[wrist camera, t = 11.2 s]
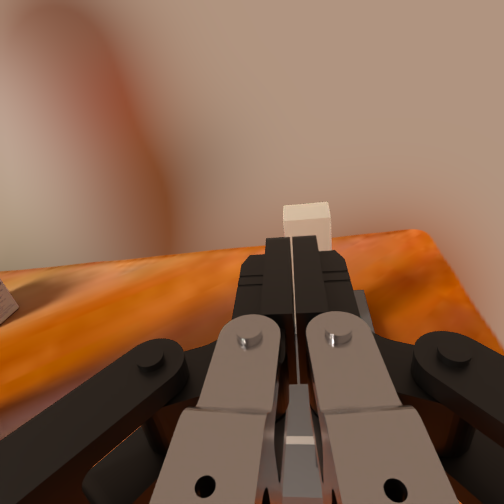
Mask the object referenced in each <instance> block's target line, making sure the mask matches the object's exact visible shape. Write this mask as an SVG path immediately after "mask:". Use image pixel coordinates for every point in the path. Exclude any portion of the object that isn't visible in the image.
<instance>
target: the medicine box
mask: <svg viewBox="0 0 504 504" xmlns="http://www.w3.org/2000/svg"><path fill="white" fill-rule="evenodd" d="M18 308H19V306H18V304H17V303H16V301H15V300H14V298H13V297H12V295H11V294H10V293H9V291H8V290H7V288H6V286H5V285H4V284H3V282H2V281H1V279H0V324H1V323H2V322H4V321H5V320H6V319H7V318H8V317H9V316H10V315H11V314H13V313H14V312H15V311H16V310H17V309H18Z"/></svg>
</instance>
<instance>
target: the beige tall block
mask: <svg viewBox="0 0 504 504" xmlns="http://www.w3.org/2000/svg"><path fill="white" fill-rule="evenodd" d="M283 226H284V235H285V237H290V244H291V259H292V275H293V291H294V314H295V334H297V327H296V311H295V289H294V268H293V246H292V237H294V236H310V235H316V238H317V244H318V250H319V251H331V250H332V243H331V216H330V211H329V206H328V202H319V203H308V204H297V205H285V206H284V209H283Z"/></svg>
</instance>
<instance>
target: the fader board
mask: <svg viewBox="0 0 504 504" xmlns="http://www.w3.org/2000/svg"><path fill="white" fill-rule="evenodd" d="M353 291H354V295H355V299H356V302H357V306H358V309H359V313H360V317H361V319H362V320H364V321H365V322H366V323H367V324H368V326H369V327H370V329H371V331H372V332H374V328H373V324H372V320H371V317H370V313H369V309H368V305H367V301H366V298H365V294H364V290H353ZM374 333H375V332H374ZM295 338H296V361H297V384H289V405H288V422H287V436H286V450H285V464H284V479H283V499H282V504H323V496H322V489H321V482H320V476H319V470H318V463H317V457H316V450H315V444H314V438H313V431H312V425H311V418H310V406H309V391H308V384H300V374H299V359H298V343H297V334H295Z"/></svg>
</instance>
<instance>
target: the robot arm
mask: <svg viewBox="0 0 504 504" xmlns="http://www.w3.org/2000/svg"><path fill="white" fill-rule="evenodd" d="M292 246H293V268H294V289H295V311H296V327H297V343H298V359H299V374H300V384H308V391H309V406H310V418H311V425H312V431H313V438H314V444H315V450H316V457H317V463H318V470H319V476H320V482H321V489H322V496H323V504H459V502H458V500H459V501H460V502H461V503H462V504H504V356H503V355H501V354H499V353H497V352H495V351H493V350H492V349H490V348H488V347H486V346H484V345H482V344H481V343H479V342H477V341H475V340H473V339H471V338H469V337H467V336H464V335H461V334H458V333H454V332H448V331H435V332H430V333H427V334H424V335H423V336H421V337H420V338H419V339H418V340H417V341H416V343H415V345H411V344H406V343H402V342H397V341H393V340H389V339H386V338H383V337H381V336H379V335H377V334H375V333H374V332H372V331H371V329H370V327H369V326H368V324H367V323H366V322H365V321H364V320H362V319H361V317H360V313H359V309H358V306H357V302H356V299H355V295H354V291H353V288H352V284H351V282H350V277H349V273H348V269H347V266H346V262H345V259H344V258H343V257H342V256H341V255H340V254H338V253H337V252H336V251H335V250H331V251H319V250H318V244H317V238H316V235H310V236H294V237H292ZM289 384H297V361H296V338H295V314H294V291H293V275H292V259H291V244H290V237H279V238H266V247H265V254H262V255H250V256H249V257H248V258H247V259H246V260H245V262H244V263H243V264H242V265H241V271H240V278H239V282H238V288H237V293H236V299H235V305H234V310H233V316H232V320H231V321H230V322H228V323H227V324H226V325H225V326H224V327H223V328H222V330H221V332H220V334H219V337H218V340H216V341H214V342H213V343H210V344H208V345H206V346H203V347H199V348H196V349H192V350H188V351H185V352H183V349H182V347H181V346H180V345H179V344H178V343H177V342H175V341H173V340H170V339H153V340H149V341H146V342H144V343H142V344H140V345H138V346H136V347H135V348H133V349H132V350H130V351H129V352H127V353H126V354H124V355H123V356H122V357H120V358H119V359H117V360H116V361H114V362H113V363H112V364H110V365H109V366H107V367H106V368H104V369H103V370H101V371H100V372H99V373H97V374H96V375H94V376H93V377H91V378H90V379H88V380H87V381H86V382H84V383H83V384H81V385H80V386H78V387H77V388H76V389H74V390H73V391H71V392H70V393H68V394H67V395H65V396H64V397H63V398H61V399H60V400H58V401H57V402H55V403H54V404H53V405H51V406H50V407H48V408H47V409H45V410H44V411H42V412H41V413H40V414H38V415H37V416H35V417H34V418H32V419H31V420H29V421H28V422H27V423H25V424H24V425H22V426H21V427H19V428H18V429H17V430H15V431H14V432H12V433H11V434H9V435H8V436H6V437H5V438H4V439H2V440H1V441H0V504H282V499H283V479H284V464H285V450H286V436H287V422H288V405H289ZM138 427H139V428H138ZM137 428H138V429H137ZM136 429H137V430H136ZM135 430H136V431H135ZM134 431H135V432H134ZM131 433H132V434H131ZM130 434H131V435H130ZM129 435H130V436H129ZM128 436H129V437H128ZM127 437H128V438H127ZM124 439H125V440H124ZM123 440H124V441H123ZM122 441H123V442H122ZM121 442H122V443H121ZM120 443H121V444H120ZM118 444H119V445H118ZM117 445H118V446H117ZM116 446H117V447H116ZM115 447H116V448H115ZM114 448H115V449H114ZM113 449H114V450H113ZM111 450H112V451H111ZM110 451H111V452H110ZM109 452H110V453H109ZM108 453H109V454H108ZM107 454H108V455H107ZM106 455H107V456H106ZM104 456H105V457H104ZM103 457H104V458H103ZM102 458H103V459H102ZM101 459H102V460H101ZM100 460H101V461H100ZM99 461H100V462H99ZM97 462H98V463H97ZM96 463H97V464H96ZM95 464H96V465H95ZM94 465H95V466H94ZM93 466H94V467H93ZM92 467H93V468H92ZM457 499H458V500H457Z"/></svg>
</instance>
